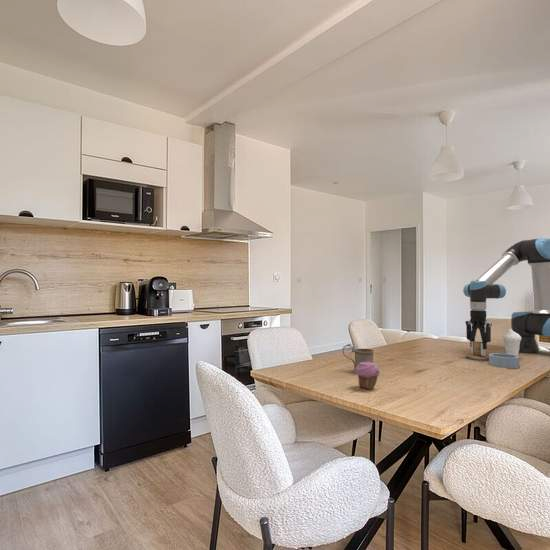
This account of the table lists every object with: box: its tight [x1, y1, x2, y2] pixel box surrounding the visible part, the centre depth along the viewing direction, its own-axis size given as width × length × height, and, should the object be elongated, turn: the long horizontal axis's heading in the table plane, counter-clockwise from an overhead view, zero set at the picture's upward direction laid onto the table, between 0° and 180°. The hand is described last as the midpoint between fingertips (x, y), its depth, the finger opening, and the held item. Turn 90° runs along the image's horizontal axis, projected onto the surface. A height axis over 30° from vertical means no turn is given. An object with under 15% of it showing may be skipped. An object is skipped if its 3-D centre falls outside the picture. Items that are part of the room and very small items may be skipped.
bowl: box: [488, 352, 520, 370], centre depth 187 cm, size 12×12×5 cm
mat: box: [458, 355, 489, 363], centre depth 203 cm, size 14×14×1 cm
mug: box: [342, 343, 375, 374], centre depth 175 cm, size 14×10×12 cm
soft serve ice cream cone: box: [502, 328, 521, 356], centre depth 204 cm, size 8×8×16 cm
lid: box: [465, 341, 489, 362], centre depth 203 cm, size 12×12×8 cm
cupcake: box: [355, 362, 380, 391], centre depth 148 cm, size 9×9×10 cm
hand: (478, 354), depth 203 cm, fingers closed on lid, 5 cm apart
